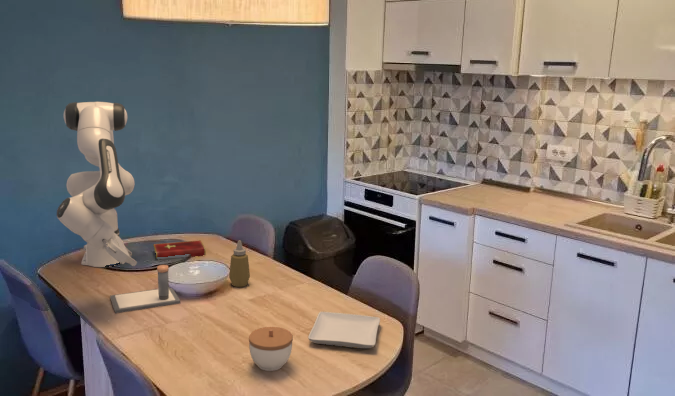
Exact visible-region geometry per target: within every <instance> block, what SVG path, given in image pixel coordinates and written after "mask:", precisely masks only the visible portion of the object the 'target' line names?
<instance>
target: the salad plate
mask: <svg viewBox="0 0 675 396" xmlns="http://www.w3.org/2000/svg"><path fill="white" fill-rule="evenodd" d="M380 323H381V317H378V316H370V315H362V314H356V313H353V314H352V313H344V312H343V313H342V312H333V311H332V312H330V311H319V313H318V314H317V317H316V319H315V321H314V324H313V325H312V328H311V330H310V332H309V334H308V336H307V338H308V340H309V341H311V342H312V343H315V344H317V345H318V344H321V345H325V344H326V346H333V345H335V346H334V347H342V346H346V347H345V348H352V347H357V348H356V349H372V348H374V346H375V345H376V342H377V341H376V340H377V335H378V329H379V327H380Z"/></svg>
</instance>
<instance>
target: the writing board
mask: <svg viewBox="0 0 675 396" xmlns="http://www.w3.org/2000/svg"><path fill="white" fill-rule="evenodd" d="M170 287H171V286H169V298H168V299H166V300H160V299H159V295H158V288H152V289H146V290H139V291H134V292H133V291H132V292H125V293H118V294H111V295H109V299H110V301H111V304H112V307H113V310H114V313H115V314H119V313H121V314H122V313H125V312H132V311H139V310H146V309H153V308H159V307H166V306H172V305H178V304H181V299H180V298H179V296H178V293H176V291H175V290H174V288H173V287H172V288H173V289H172V288H170Z"/></svg>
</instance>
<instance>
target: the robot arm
mask: <svg viewBox="0 0 675 396" xmlns="http://www.w3.org/2000/svg"><path fill="white" fill-rule="evenodd" d="M63 120H64V123H65V126H66V127H67V128H68V129H69V130H72V131H74V132H75V131H76V132H77V133H76V142H77V148H78V150H79V152H80V153H81V154H82V155H84V158H85V160H86V161H87V163H90V165H93V166H95V167H97V168H99V169H98V170H96V171H95V170H91V171H90V170H89V171H79V172H75V173H71V174H70V176H69V177H68V178H67V181H66V190H67V193H68V194H69V195H70V196H71V197H67V198H65V199H64V200H62V202H61V203H60V204H59V205H58V208H57V209H56V218H57V219H58V220H59V221H60V223H61V224H63V226H65V227H66V228H67V229H68V230H70V231H71V232H72V233H74V234H75V235H78V236H79V237H81V238H82V239H83V241H85V242H86V244H84V245H83V251H85V252H84V255H83V256H82V258H81V259H82V260H81V262H80V263H81V264H80V265H82V266H90V267H95V268H106V267H105V266H106V265H110V264H116V263H119V262H120V264H122V265H124V264H125V263H127V264H129V265H131V266H132V267H135V266H136V265H137V264H138V261H137V260H135V259H134V258H132V255H133V253H132V251H130V250H129V248H127V247H126V246H125V244H124V241H123V240H122V238H121V237H120V228H119V226H118V225H119V224H118V211H117V208H118V207H121V205H122V204H123V203H124V201H125V199H126V196H128V195H130V194H131V193H132V192H133V191H134V188H135V182H136V181H135V178H134V177H133V175H132V173H130V172H129V171H127V170H126V169H124V168H123V167H122V166H121V164H120V163H119V159H118V154H117V149H116V146H115V144H114V143H115V140H114V139H115V138H114V132H115V131H116V132H117V131H122V130H123V129H124V128H126V124H127V122H128V112H127V110H126V108H125V106H124V105H123V104H121V103H118V102H109V101H108V102H106V101H87V102H86V101H85V102H84V101H83V102H77V101H75V102H69V103H68V104H66V106H65V109H64V111H63ZM115 208H116V209H115Z"/></svg>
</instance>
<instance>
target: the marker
mask: <svg viewBox="0 0 675 396" xmlns="http://www.w3.org/2000/svg"><path fill="white" fill-rule="evenodd" d="M156 269H157V289H158V295H159V299H160V300H166V299H168V298H169V287H170V285H169V284H170V283H169V265H168V264H159V265H157V268H156Z"/></svg>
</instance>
